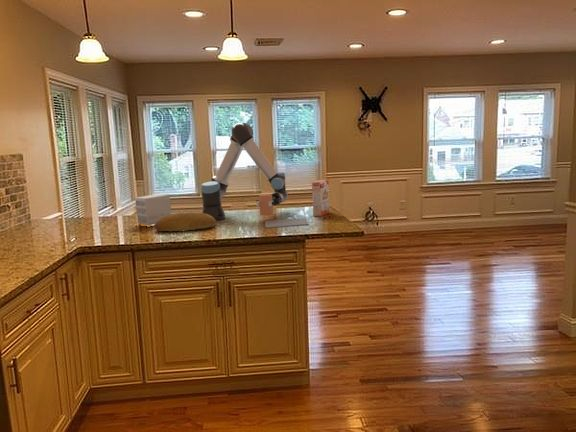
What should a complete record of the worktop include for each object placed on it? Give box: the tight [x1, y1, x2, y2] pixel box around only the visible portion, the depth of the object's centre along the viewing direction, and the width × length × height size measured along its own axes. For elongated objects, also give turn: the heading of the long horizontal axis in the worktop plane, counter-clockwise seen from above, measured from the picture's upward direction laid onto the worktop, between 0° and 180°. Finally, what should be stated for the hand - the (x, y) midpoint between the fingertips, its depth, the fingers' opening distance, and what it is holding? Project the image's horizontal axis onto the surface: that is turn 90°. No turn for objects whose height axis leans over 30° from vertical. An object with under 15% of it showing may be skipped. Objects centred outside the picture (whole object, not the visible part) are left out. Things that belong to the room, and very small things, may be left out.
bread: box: [154, 211, 217, 232], centre depth 273 cm, size 18×35×10 cm, turn 91°
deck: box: [258, 194, 274, 216], centre depth 283 cm, size 4×7×12 cm, turn 73°
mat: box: [264, 217, 310, 229], centre depth 270 cm, size 24×19×1 cm
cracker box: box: [311, 179, 331, 217], centre depth 290 cm, size 14×6×21 cm, turn 154°
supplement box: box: [134, 193, 173, 225], centre depth 295 cm, size 17×13×18 cm
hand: (263, 204), depth 278 cm, fingers closed on deck, 7 cm apart
